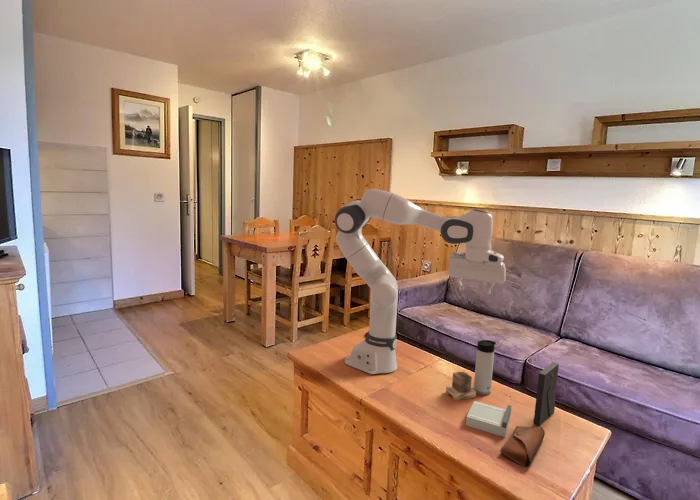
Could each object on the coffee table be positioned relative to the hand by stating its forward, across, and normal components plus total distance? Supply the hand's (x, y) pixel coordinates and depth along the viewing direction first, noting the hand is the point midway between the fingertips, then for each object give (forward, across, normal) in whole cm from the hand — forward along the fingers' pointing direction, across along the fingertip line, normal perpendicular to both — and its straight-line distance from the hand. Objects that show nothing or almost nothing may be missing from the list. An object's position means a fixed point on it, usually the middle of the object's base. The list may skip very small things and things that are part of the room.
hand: (474, 291), depth 144 cm
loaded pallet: (+39, -1, -3) cm, 39 cm away
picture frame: (+39, +27, -4) cm, 48 cm away
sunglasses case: (+40, +20, -25) cm, 51 cm away
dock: (+39, +11, -17) cm, 44 cm away
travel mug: (+39, +5, +4) cm, 40 cm away
